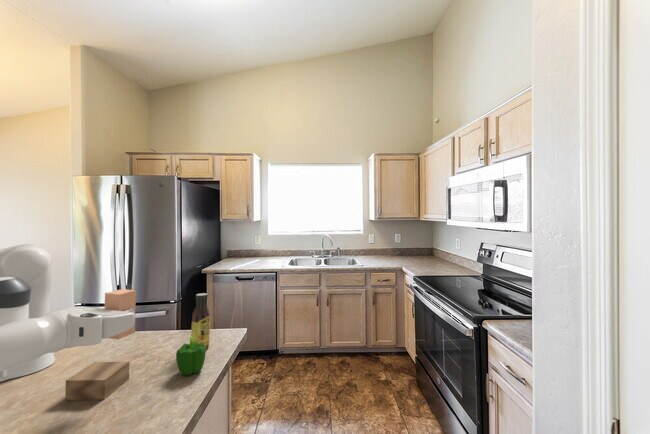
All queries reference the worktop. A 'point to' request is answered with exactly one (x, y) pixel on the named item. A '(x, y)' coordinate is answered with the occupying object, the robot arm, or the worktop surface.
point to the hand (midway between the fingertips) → (123, 310)
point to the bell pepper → (190, 357)
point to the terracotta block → (121, 306)
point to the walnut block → (97, 381)
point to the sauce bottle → (201, 321)
